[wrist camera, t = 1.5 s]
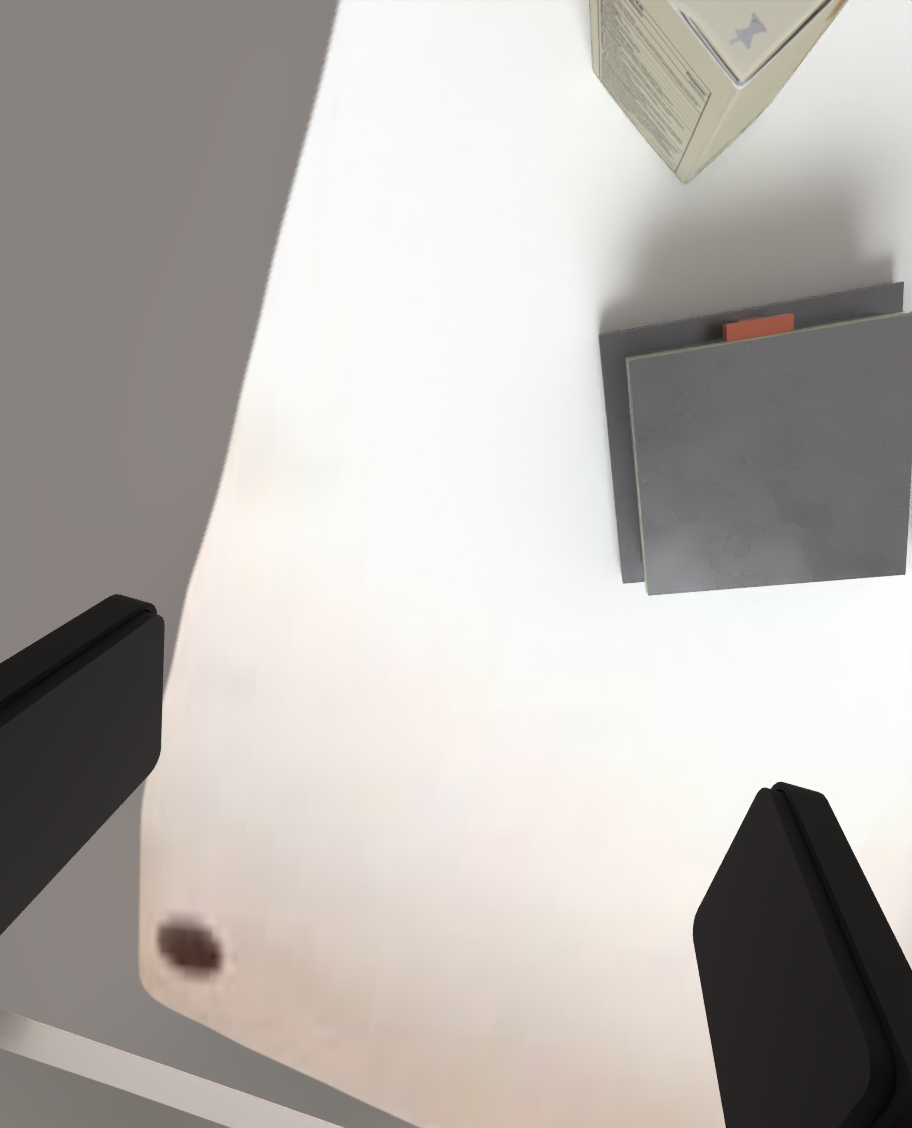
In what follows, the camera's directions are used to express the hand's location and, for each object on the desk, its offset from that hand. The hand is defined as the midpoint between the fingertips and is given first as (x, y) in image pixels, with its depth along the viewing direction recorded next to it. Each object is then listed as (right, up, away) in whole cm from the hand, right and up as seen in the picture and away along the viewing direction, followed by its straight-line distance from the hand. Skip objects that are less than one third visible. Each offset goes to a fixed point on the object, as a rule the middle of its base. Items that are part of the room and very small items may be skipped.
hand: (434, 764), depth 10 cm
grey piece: (+14, +9, +20) cm, 26 cm away
